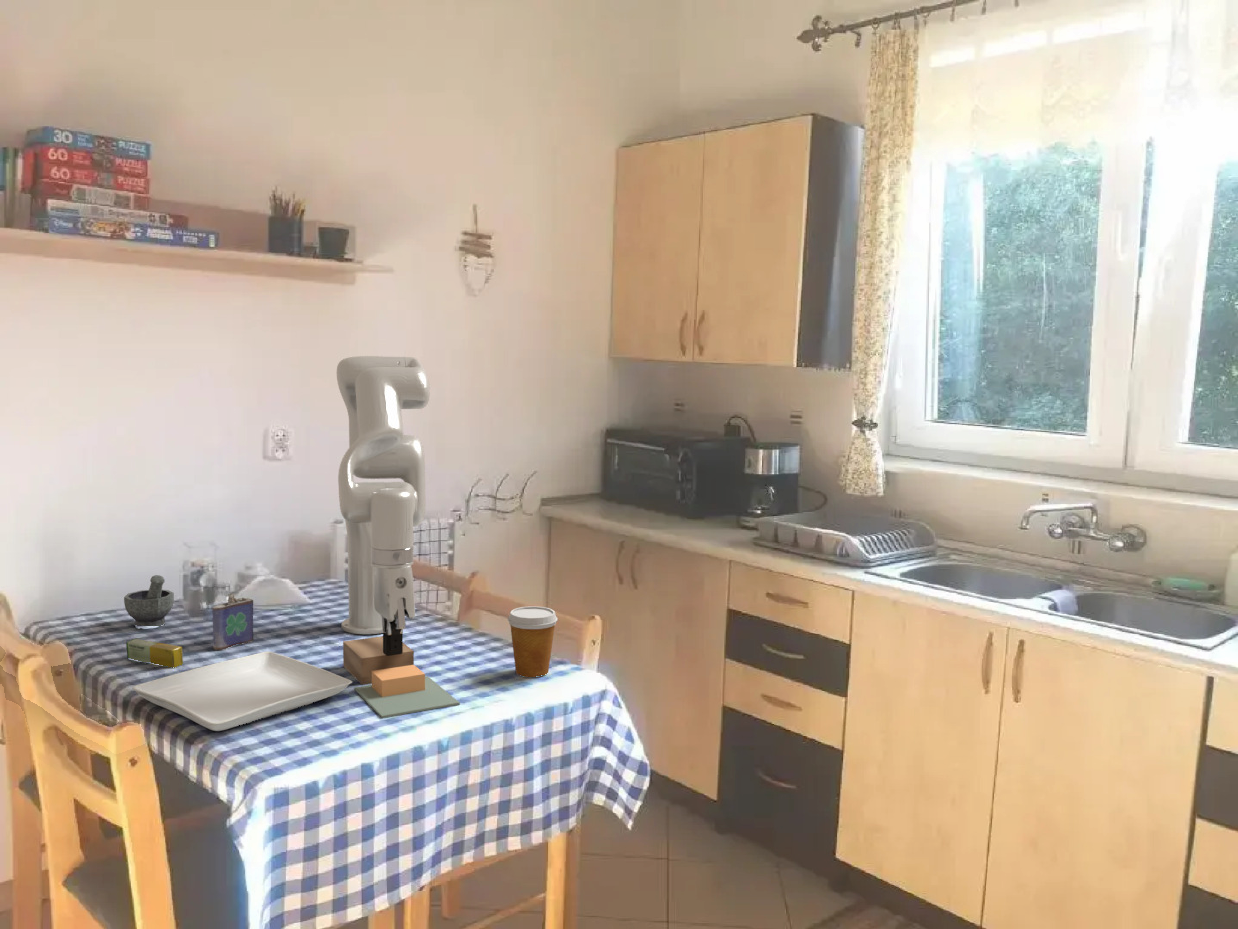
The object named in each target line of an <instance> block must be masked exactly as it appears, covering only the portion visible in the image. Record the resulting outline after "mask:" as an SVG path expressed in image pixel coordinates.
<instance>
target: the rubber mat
mask: <svg viewBox="0 0 1238 929" xmlns="http://www.w3.org/2000/svg"><path fill="white" fill-rule="evenodd" d="M353 688H354V691H355V692H356V693H357V694H358V695H359V697H361V698H362V700H364V702H366V704H368V705H369V706H370V708H371V709H372V710H373V711H374V712H375V713H376V714H377V715H378V716H379V717H380V718H381V719H385V718H390V717H391V718H392V717H397V716H402V715H409V714H413V713H420V711H421V712H425V711H426V712H427V711H431V710H437V709H438V710H439V709H442V708H449V707H455V706H458V705H459V706H460V705H461V704H460V701H459V700H457V699H456V698H455V697H453V695H451V694H450V693H448V691H446V690H445V689H444V688H443V687H441V686H440V685H439V684H438V683H436V682H435V681H434V680H433V679H432V678H431V677H429V675H425V690H422V691H416V692H410V693H403V694H397V695H391V696H385V697H382V696H381V695H380V694H379V693H378V692H376V691H375V690H374V689H373V688H372V684H369V685H368V684H366V685H362V686H361V685H360V686H357V687H356V686H355V687H353ZM454 705H455V706H454Z"/></svg>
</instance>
